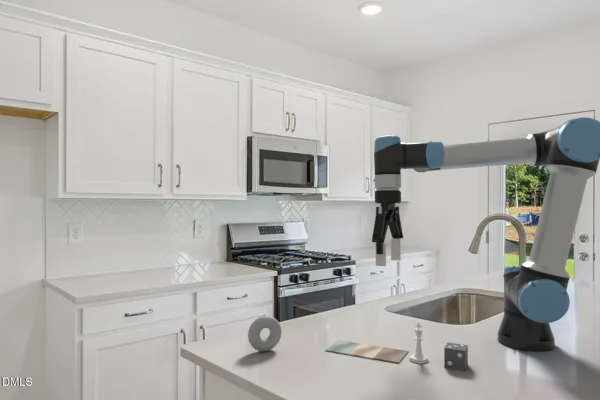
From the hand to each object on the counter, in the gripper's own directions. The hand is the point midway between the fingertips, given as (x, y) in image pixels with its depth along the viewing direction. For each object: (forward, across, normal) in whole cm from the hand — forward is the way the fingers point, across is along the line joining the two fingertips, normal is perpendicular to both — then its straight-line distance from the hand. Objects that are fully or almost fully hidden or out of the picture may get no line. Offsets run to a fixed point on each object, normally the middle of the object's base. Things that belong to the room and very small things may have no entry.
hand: (388, 263), depth 129 cm
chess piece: (+25, +6, +10) cm, 27 cm away
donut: (+24, +21, -29) cm, 43 cm away
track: (+24, +7, -4) cm, 26 cm away
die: (+24, +6, +20) cm, 32 cm away
